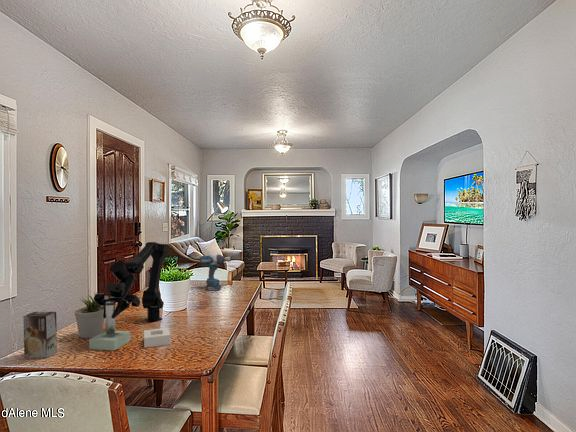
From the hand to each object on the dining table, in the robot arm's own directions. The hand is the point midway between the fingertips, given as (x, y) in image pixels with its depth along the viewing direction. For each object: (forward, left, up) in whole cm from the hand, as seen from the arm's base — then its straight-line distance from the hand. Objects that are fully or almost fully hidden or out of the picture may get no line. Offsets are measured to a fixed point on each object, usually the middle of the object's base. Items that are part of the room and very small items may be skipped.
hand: (108, 318), depth 146 cm
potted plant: (-19, 0, -12) cm, 22 cm away
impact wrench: (-50, +94, -12) cm, 107 cm away
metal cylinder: (-1, +1, -7) cm, 7 cm away
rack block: (-1, +1, -12) cm, 12 cm away
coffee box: (-11, -21, -12) cm, 26 cm away
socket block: (+11, +15, -12) cm, 22 cm away
